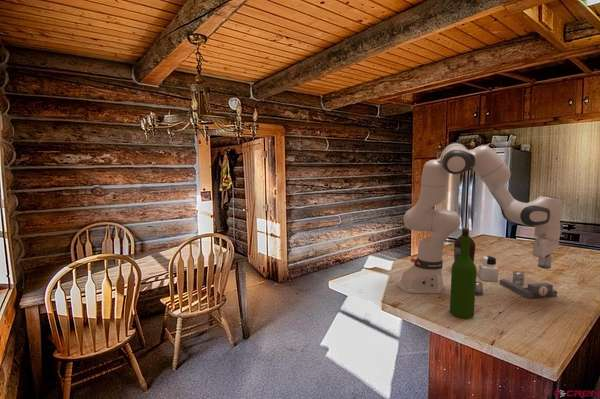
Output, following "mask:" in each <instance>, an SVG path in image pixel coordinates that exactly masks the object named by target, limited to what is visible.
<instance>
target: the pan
mask: <svg viewBox="0 0 600 399" xmlns="http://www.w3.org/2000/svg"><path fill="white" fill-rule="evenodd" d="M502 279H503V280H504V281H506V282H508V283H510V284H512V285H515V286H517V287H519V288H521V289H528V284H536V283H540V282H539V281H536V280H534V279H532V278H530V277H528V276H524V284H516V283H513V277H505V278H502Z"/></svg>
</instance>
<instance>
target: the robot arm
mask: <svg viewBox="0 0 600 399" xmlns="http://www.w3.org/2000/svg"><path fill="white" fill-rule="evenodd" d="M471 170H472V171H474V172H475V174H477V176H478V177H479V179H480V180H481V181H482V182H483V184H485V186H486V187H487V188H488V191H489V192H490V194H491V195H492V197H493V198H494V199H495V200H496V203H497V204H498V205H499V208H500V211H501V214H502V217H503V219H505V220H506V221H507V222H510V223H516V224H519V225H524V226H527V227H534V230H533V232H534V236H535V237H537V238H535V240H534V242H533V247H532V249H533V250H532V256H533V257H536V258H538V260H539V264H540V265H545V256H547V255H548V256H551V257H552V253H554V252H555V251H558V248H559V243H560V237H561V236H562V234H563V232H562V230H561V220H562V216H563V214H562V213H563V210H562V209H563V208H562V207H563V206H562V201H561V199H560V198H558V197H556V196H550V195H549V196H548V195H540V196H538V197H537V198H536V199H534V200H532V201H529V202H523V201H519V200H517V199H515V198H514V197H513V195H512V194H511V192H510V191H509V190H508V188H507V187H506V184H507V183H508V182H509V180H510V178H511V174H512V173H511V171H510V168H509V166H508V165H507V163H506V162H505V161H504V159H502V157H501V156H500V155H499V154H498V153H497V152H496V151H495V150H494V149H492V148H491V147H490V146H488V145H483V144H482V145H479V146H477V147H475V148H473V149H467V146H466V145H464V144H463V143H461V142H457V141H454V142H450V143H448V144H446V145H445V146H444V148H443V149H442V151H441V152H440V153H439V155H438V159H431V160H428V161H426V162H425V163H424V165H423V168H422V173H421V180H420V189H419V190H420V192H419V198H418V200H417V202H416V203H415V205H413V206H412V207H411V208H409V209H408V210H406V212H405V213H404V215H403V219H402V220H403V224H404V226H405V227H406V229H407V230H413V231H416V232H431V234H430V235H429V236H427V237H425V238H423V239H421V240H420V241H419V242H418V245H417V247H418V248H417V249H418V250H417V258H414V257H411V258H410V262H411V263H414V264H413V265H412V266H411V267H409V268H407V270H405V271H403V273H402V274H401V279H399V280H397V281H396V285H397V287H398V288H399V289H400V290H402V291H404V292H405V293H408V294H441V293H442V291H444V289H445V286H444V282H443V276H442V275H443V272H442V270H443V266H444V265H443V248H444V244H445V242H446V240H447V239H448V237H450V235H452V234H453V233H455V232H456V231H458V229H459V228H460V227H461V221H462V220H461V217H460V215H459V213H457V212H456V211H453V210H449V209H432V208H433V207H436V206H438V205H441V203H443V202H444V201H445V199H446V197H447V196H446V192H447V184H448V183H447V181H448V176H449V174H451V175H459V174H462V173H466V172H468V171H471Z"/></svg>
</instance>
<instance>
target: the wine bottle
mask: <svg viewBox="0 0 600 399" xmlns="http://www.w3.org/2000/svg"><path fill="white" fill-rule="evenodd" d="M469 236H470V235H469ZM469 236H462V239H461V253H460V256H459V257H458V258H457V259H456V260H455V262H453V263H452V265H451V275H450V276H451V278H450V280H451V281H450V294H449V296H450V298H449V299H450V300H449V313H450V314H451V315H452V316H453V317H455V318H459V319H465V320H469V319H473V318H474V316H475V305H476V304H475V303H476V295H475V289H476V281H477V270H478V269H477V266H476V264H475V263H473V261H472V259H471V258H470V256H469V247H470V237H471V236H470V237H469Z"/></svg>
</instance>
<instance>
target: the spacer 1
mask: <svg viewBox="0 0 600 399" xmlns="http://www.w3.org/2000/svg"><path fill="white" fill-rule="evenodd" d="M476 295H477V296H483V295H484V283H483V281H478V280H476V289H475V296H476Z"/></svg>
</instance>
